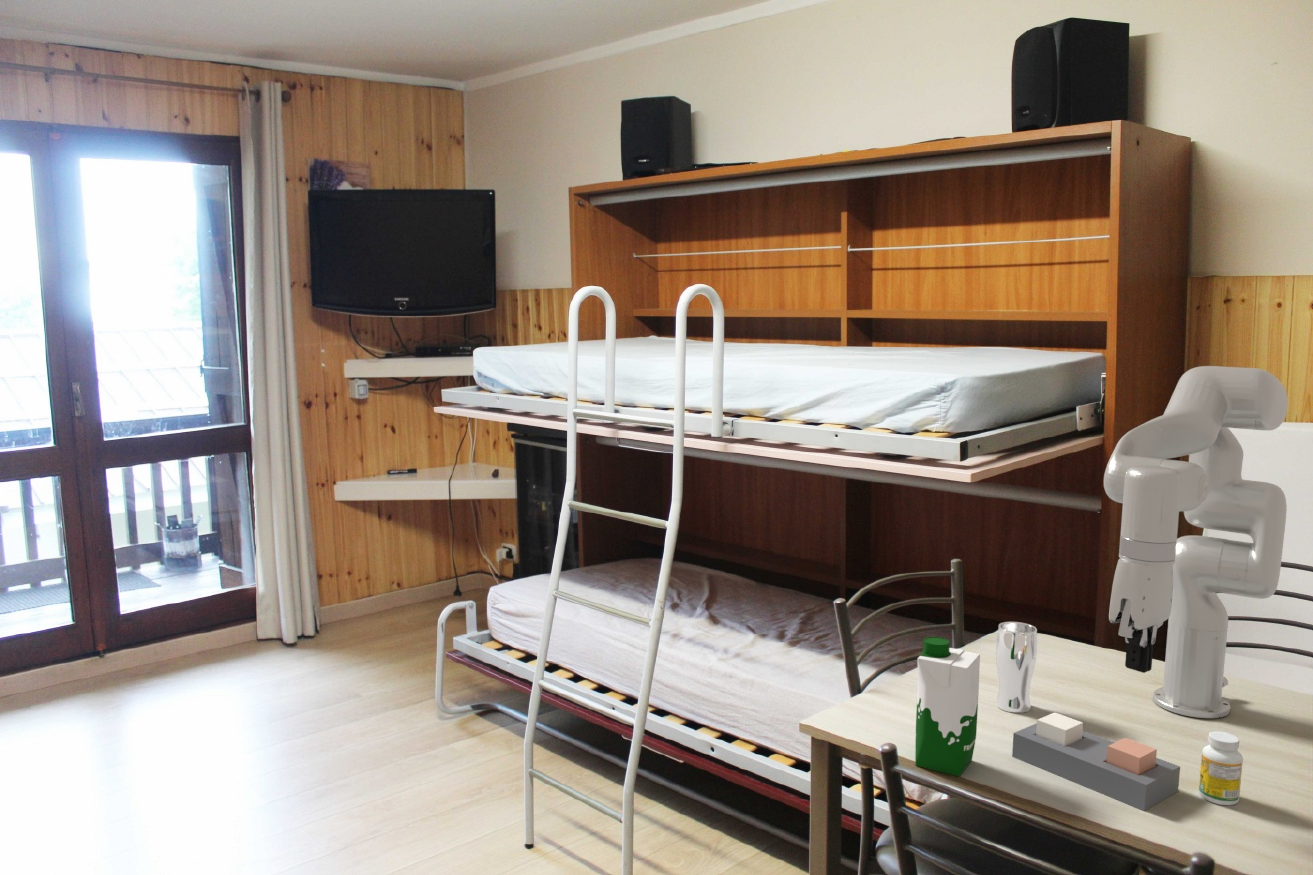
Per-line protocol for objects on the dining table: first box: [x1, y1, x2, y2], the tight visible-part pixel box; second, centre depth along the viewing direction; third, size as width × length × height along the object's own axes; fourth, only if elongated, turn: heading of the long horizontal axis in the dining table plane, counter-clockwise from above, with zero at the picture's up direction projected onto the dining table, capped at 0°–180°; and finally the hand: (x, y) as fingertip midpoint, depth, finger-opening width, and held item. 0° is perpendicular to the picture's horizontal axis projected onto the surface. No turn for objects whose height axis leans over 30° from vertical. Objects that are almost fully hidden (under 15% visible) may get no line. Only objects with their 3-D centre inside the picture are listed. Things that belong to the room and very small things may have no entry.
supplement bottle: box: [1198, 730, 1244, 806], centre depth 154 cm, size 5×5×10 cm
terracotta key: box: [1106, 737, 1158, 776], centre depth 156 cm, size 5×5×4 cm
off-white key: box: [1036, 712, 1084, 747], centre depth 166 cm, size 5×5×4 cm
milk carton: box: [914, 636, 981, 778], centre depth 163 cm, size 9×9×20 cm
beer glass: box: [995, 621, 1038, 714], centre depth 187 cm, size 7×7×15 cm
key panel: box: [1011, 722, 1181, 812], centre depth 161 cm, size 10×22×4 cm, turn 37°
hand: (1138, 668), depth 154 cm, fingers closed
